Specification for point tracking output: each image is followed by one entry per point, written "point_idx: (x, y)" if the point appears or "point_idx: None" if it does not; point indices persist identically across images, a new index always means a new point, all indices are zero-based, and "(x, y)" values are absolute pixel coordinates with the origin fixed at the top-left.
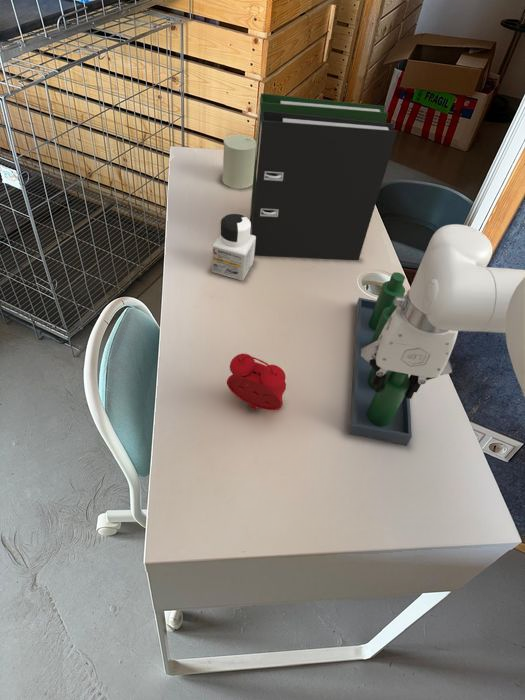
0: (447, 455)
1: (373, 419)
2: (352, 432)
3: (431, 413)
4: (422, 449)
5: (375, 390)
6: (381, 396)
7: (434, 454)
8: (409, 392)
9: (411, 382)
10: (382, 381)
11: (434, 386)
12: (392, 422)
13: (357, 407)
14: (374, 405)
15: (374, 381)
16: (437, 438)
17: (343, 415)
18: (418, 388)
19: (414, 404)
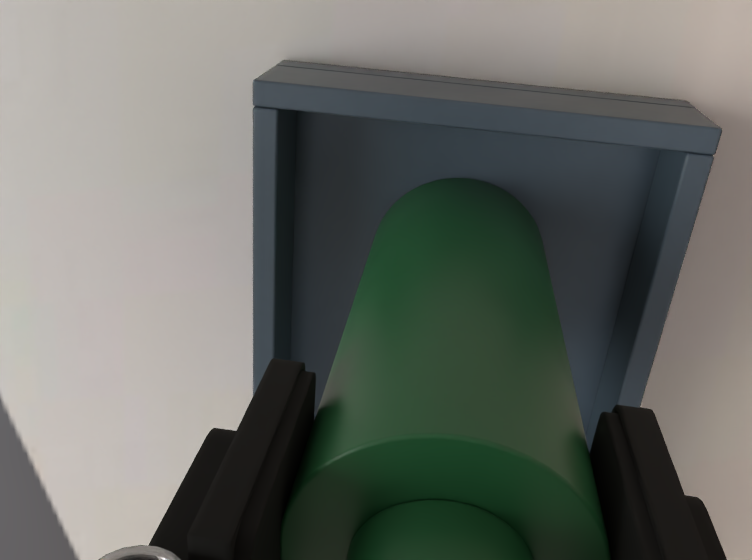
0: (17, 17)
1: (520, 215)
2: (680, 105)
3: (123, 311)
4: (178, 43)
5: (650, 426)
6: (559, 369)
7: (100, 13)
8: (292, 423)
9: (271, 550)
10: (677, 556)
11: (110, 473)
12: (371, 218)
13: (600, 309)
14: (555, 302)
15: (711, 536)
16: (84, 142)
17: (695, 248)
18: (188, 476)
19: (221, 361)
